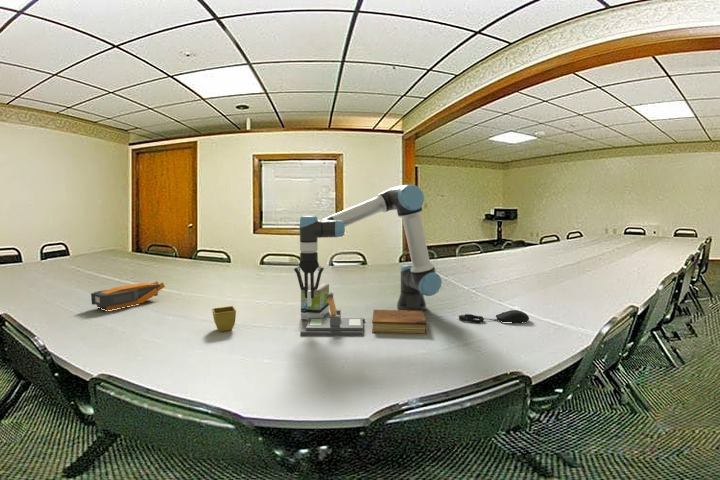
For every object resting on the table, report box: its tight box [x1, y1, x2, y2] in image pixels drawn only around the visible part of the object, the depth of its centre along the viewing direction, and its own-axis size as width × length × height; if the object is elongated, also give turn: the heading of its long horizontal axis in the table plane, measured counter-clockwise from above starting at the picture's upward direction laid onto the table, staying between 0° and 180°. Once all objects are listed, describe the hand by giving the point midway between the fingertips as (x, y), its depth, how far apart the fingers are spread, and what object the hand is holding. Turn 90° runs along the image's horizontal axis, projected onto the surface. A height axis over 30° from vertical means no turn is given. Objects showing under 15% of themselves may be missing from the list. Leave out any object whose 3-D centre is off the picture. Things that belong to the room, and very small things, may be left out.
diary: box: [371, 309, 428, 336], centre depth 167 cm, size 23×19×6 cm
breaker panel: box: [305, 308, 364, 332], centre depth 165 cm, size 24×14×7 cm, turn 90°
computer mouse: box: [458, 309, 530, 324], centre depth 176 cm, size 9×32×6 cm, turn 90°
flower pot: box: [211, 305, 237, 333], centre depth 163 cm, size 9×9×9 cm
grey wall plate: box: [299, 317, 366, 337], centre depth 165 cm, size 27×19×1 cm
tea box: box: [300, 282, 330, 321], centre depth 183 cm, size 15×10×15 cm
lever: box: [327, 291, 337, 315], centre depth 164 cm, size 3×6×13 cm, turn 0°
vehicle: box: [90, 280, 166, 311], centre depth 204 cm, size 14×34×10 cm, turn 148°
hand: (309, 305), depth 164 cm, fingers closed
